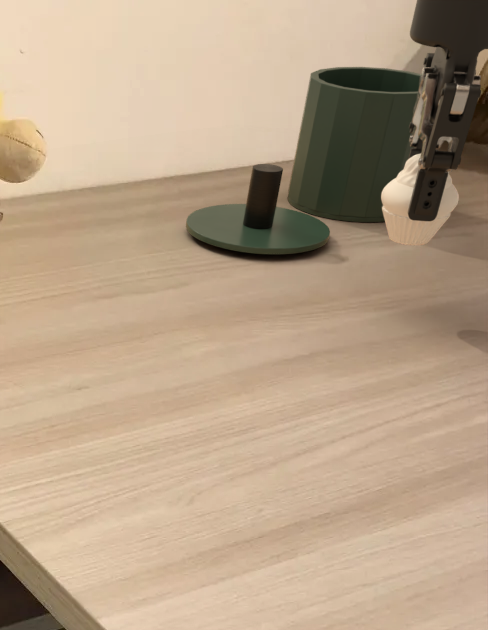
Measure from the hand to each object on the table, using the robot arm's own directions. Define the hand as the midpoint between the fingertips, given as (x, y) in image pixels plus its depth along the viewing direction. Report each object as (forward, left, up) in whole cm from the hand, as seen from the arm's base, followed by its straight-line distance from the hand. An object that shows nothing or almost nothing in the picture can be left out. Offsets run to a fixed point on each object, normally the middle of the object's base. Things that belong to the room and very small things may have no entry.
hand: (416, 206), depth 87 cm
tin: (+2, -32, -9) cm, 33 cm away
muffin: (0, 0, -3) cm, 3 cm away
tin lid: (+12, -17, -8) cm, 23 cm away
